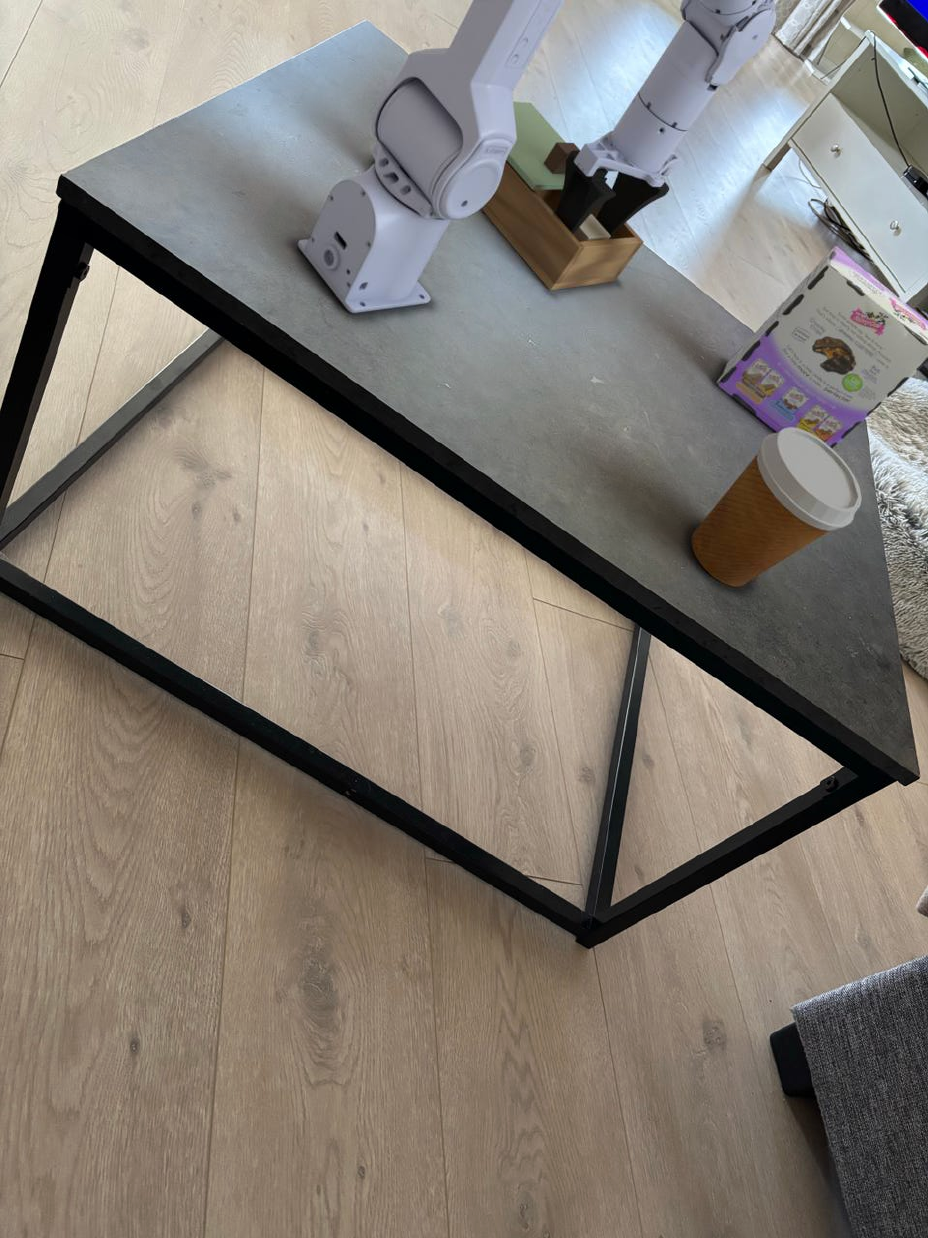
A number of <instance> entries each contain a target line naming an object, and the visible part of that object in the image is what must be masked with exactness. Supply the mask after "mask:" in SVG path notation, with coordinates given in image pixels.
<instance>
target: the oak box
mask: <svg viewBox="0 0 928 1238" xmlns="http://www.w3.org/2000/svg"><path fill="white" fill-rule="evenodd" d="M562 190H563V189H552V190H532V189H531V187H530V186H529V185H528V184H527V183H526V182H525V180H524V179H523V178H522V177H521V176H520V175H519V174H518V172H517V171H516V170H515V169H514V168H513V167H512V165H511V164H510V163H509V162H508V161H507V160H506V162H505V165H504V170H503V174H502V177H501V181H500V183H499V186H498V188H497V190H496V191H495V193H494V195H493V196H492V197H491V199H490V200H489V201H488V202H487V203H486V204H485V205H484V206H483V207H482V208H481V209H480V210H482V212H483V213H484V214H485V215H486V216H487V218H488V219H489V220H490V221H491V222H492V224H493V225H494V226H495V227H496V228H497V229H498V231H499V232H500V233H501V234H502V236H504V238H505V239H506V240H507V241H508V243H509V244H510V245H511V246H512V247H513V249H514V250H515V251H516V252H517V253H518V255H520V257H521V258H522V259H523V260H524V262H525V263H526V264H527V265H528V266H529V268H530V269H531V270H532V271H533V273H534V274H535V275H536V276H537V277H538V278H539V279H540V280H541V282H542V283H543V284H544V285H545V287H546V288H547V289H548V290H549V291H556V290H563V289H564V290H565V289H570V288H577V287H587V286H592V285H599V284H607V283H614V282H616V280H617V279H618V278H619V276H620V275H621V274H622V272H623V271H624V270H625V268H626V267H627V266H628V264H629V263H630V262H631V260H632V259H633V258H634V256H635V255H636V253H638V251H639V249H640V248H641V247H642V246H643V244H644V243H645V241H644V240H643V239H642V238H641V237H640V236H639V234H638V233H637V232H636V231H635V230H634V229H633V227H632V226H631V225H630V224H629V223H628V221H627V222H626V223H625V224H624V225H622V226H621V227H620V228H619V229H618V230H617V231H616V232H614V233H613V234H612V235H611V237H610V238H609V239H608V240H596V241H584V242H579V241H578V240H577V239H576V238H575V236H574V235H573V234H572V233H571V232H570V231H569V229H568V228H567V227H566V226H565V225H564V224H563V223H562V221H561V220H560V219H559V218H558V217H557V216H556V214H555V212H556V209H557V206H558V203H559V200H560V197H561V194H562ZM603 204H604V203H603ZM603 204H602V205H600V206H599V207H598V208H597V209H596V210H594V211H593V212H592V213H591V214H592V215H593V216H594V217H595V218H596V217H597V215H598V213H599V211H600V209H601V207H602V206H603Z"/></svg>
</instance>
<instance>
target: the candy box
mask: <svg viewBox="0 0 928 1238" xmlns="http://www.w3.org/2000/svg"><path fill="white" fill-rule="evenodd" d="M777 307H778V308H776V310H775V311H774V312H773V313H772V314H771V315H770V316H769V317H768V319H766V320H765V321H764V322H763V324H761V326H760V327H759V328H757V330H756V331H755V332H754V334H752V336H750V337H749V339H748V340H747V341H746V342H745V343H744V344H743V345H742V346H741V347H740V349H738V350H737V352H736V353H734V355H733V356H732V357H731V358H730V360H728V361H727V363H726V365H725V367H724V369H723V370H722V373H721V374H720V376H719V377H718V380H717V382H716V385H717V386H718V387H719V388H720V389H722V391H724V392H725V393H726V394H727V395H729V396H730V397H731V398H733V399H734V400H736V401H737V402H738V403H739V404H741V405H742V407H744V408H746V409H747V410H748V411H749V412H750V413H752V414H753V415H755V416H756V417H757V418H758V419H759V420H761V421H762V422H763V423H764V424H766V425H767V427H770V428H771V429H772V430H773V431H774V432H775V433H778V432H779V431H781V430H783V429H785V428H789V427H793V428H799V429H802V430H805V431H807V432H809V433H811V434H813V435H814V436H816V437H818V438H819V439H821V440H822V441H823V442H825V443H826V444H827V445H828V446H830V447H831V448H832V449H833V450H834V448H835V447H836V446H837V445H838V444H839V443H841V442H842V441H843V440H844V439H845V438H846V437H847V436H848V435H849V434H850V433H852V431H854V430H855V428H857V427H858V426H859V425H860V424H861V423H862V422H863V421H865V419H867V418H868V417H869V416H870V415H871V414H872V413H873V412H874V411H875V410H877V409H878V408H879V407H880V406H881V405H882V404H883V403H884V402H886V400H888V398H890V397H891V396H892V395H893V394H894V393H895V392H897V390H899V389H900V388H901V387H902V386H903V385H904V384H905V383H906V382H907V381H908V380H909V379H910V378H911V377H913V376H914V375H915V374H917V372H918V371H919V370H921V368H923V367H924V366H925V365H926V364H927V363H928V320H927V319H926V318H924V316H923V315H921V314H920V313H918V312H917V311H916V310H915V309H914V308H912V307H911V306H910V305H909V304H907V303H906V302H905V301H904V300H902V299H901V298H900V297H899V296H898V295H896V294H895V293H894V292H893V291H892V290H891V289H889V288H888V287H887V286H885V285H884V284H883V283H882V282H880V281H879V280H878V279H877V278H876V277H875V276H873V275H872V274H871V273H870V272H869V271H867V270H866V269H865V268H863V267H862V266H861V265H860V264H858V262H857V261H855V260H854V259H852V258H851V257H850V256H849V255H848V254H846V253H845V252H844V251H843V250H842V249H841V248H840V247H839V246H837V245H835V246H834V247H832V249H830V250H829V252H828V253H827V254H825V256H824V257H823V258H822V259H821V261H820V262H818V264H817V265H816V266H815V267H814V268H813V269H812V270H811V271H810V273H808V274H807V276H806V277H805V278H804V279H803V280H802V281H801V282H800V283H799V284H798V286H796V287H795V289H794V290H793V291H792V292H791V293H790V294H789V296H788V297H787V298H785V300H784V301H783V302H782V303H781V304H780V305H779V306H777Z"/></svg>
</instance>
